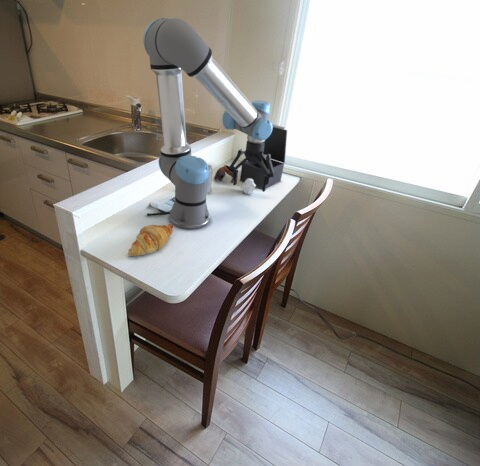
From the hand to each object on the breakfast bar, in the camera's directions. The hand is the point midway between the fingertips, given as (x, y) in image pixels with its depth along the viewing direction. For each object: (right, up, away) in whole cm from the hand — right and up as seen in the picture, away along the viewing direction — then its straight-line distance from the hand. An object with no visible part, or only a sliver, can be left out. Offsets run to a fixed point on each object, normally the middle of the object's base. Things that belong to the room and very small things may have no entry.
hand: (249, 187), depth 146 cm
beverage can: (-21, -2, 0) cm, 21 cm away
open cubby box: (+8, +5, +13) cm, 16 cm away
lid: (+13, +22, +7) cm, 26 cm away
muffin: (0, -2, +1) cm, 3 cm away
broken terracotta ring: (-11, +5, +12) cm, 17 cm away
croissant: (-40, -25, -37) cm, 60 cm away
